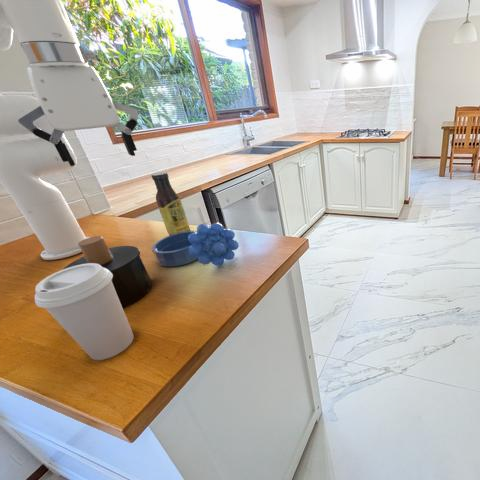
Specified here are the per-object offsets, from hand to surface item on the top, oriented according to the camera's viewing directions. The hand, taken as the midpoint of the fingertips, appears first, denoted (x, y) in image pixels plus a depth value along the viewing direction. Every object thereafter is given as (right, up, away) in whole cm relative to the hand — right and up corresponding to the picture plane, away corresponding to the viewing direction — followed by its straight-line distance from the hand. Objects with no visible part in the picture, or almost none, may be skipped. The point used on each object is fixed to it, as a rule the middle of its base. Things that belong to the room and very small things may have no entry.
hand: (103, 159), depth 57 cm
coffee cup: (+6, -35, -5) cm, 36 cm away
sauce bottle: (-5, -15, +35) cm, 39 cm away
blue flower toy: (+16, -23, +17) cm, 33 cm away
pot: (-3, -28, +8) cm, 30 cm away
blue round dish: (+3, -20, +23) cm, 31 cm away
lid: (-4, -21, +4) cm, 22 cm away
